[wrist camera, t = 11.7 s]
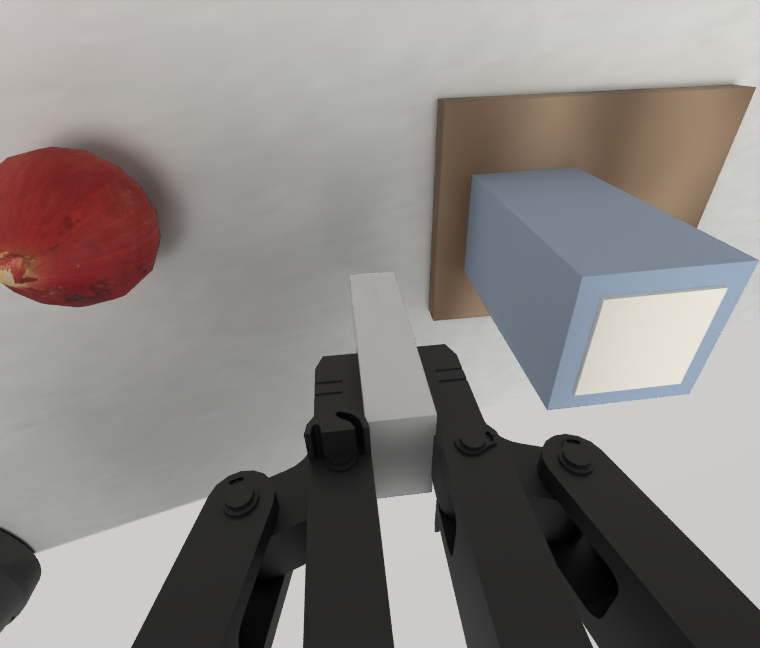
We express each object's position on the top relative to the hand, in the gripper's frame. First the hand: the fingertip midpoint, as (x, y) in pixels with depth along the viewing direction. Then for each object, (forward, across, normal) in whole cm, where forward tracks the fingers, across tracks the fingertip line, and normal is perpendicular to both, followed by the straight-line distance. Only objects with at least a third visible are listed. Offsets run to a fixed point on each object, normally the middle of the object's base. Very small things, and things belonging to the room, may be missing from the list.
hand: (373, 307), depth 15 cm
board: (+8, +11, 0) cm, 13 cm away
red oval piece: (+8, -11, +2) cm, 14 cm away
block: (+7, +8, 0) cm, 10 cm away
